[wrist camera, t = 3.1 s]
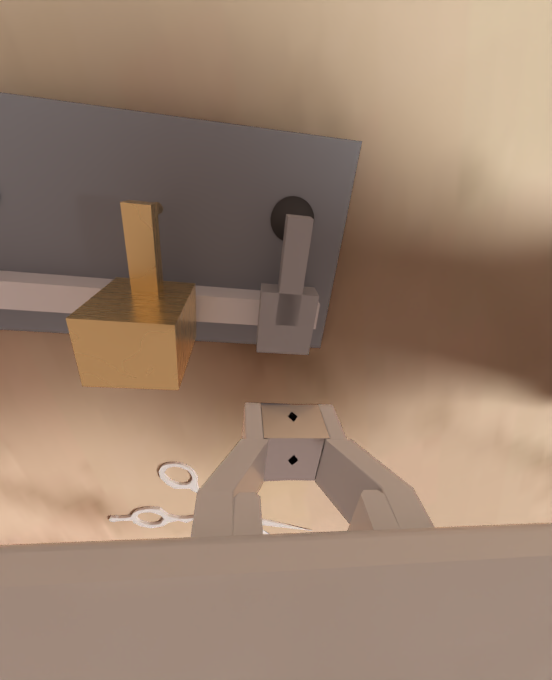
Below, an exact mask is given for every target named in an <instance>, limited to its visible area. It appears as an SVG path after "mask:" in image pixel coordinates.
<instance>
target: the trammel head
mask: <svg viewBox="0 0 552 680" xmlns="http://www.w3.org/2000/svg"><path fill="white" fill-rule="evenodd" d="M120 206H121V214H122V221H123V229H124V237H125V245H126V253H127V261H128V269H129V277H130V278H120V277H116V278H115V279H114V280H112V281H111V282H110V283H109V284H107V285H106V286H105V287H104V288H103V289H101V290H100V291H99V292H98V293H96V294H95V295H94V296H93V297H91V298H90V299H89V300H88V301H86V302H85V303H84V304H83V305H81V306H80V307H79V308H78V309H76V310H75V311H74V312H73V313H72V314H70V315H69V316H68V317H67V318H66V322H67V326H68V330H69V334H70V338H71V343H72V347H73V351H74V355H75V359H76V363H77V367H78V371H79V375H80V379H81V383H82V386H87V387H112V388H137V389H163V390H179V388H180V385H181V382H182V379H183V376H184V372H185V369H186V366H187V363H188V360H189V357H190V354H191V351H192V348H193V345H194V342H195V339H196V290H195V283H184V282H171V281H163V274H162V260H161V247H160V233H159V220H158V215H159V214H161V213H162V212H163V207H162V205H161V204H160V203H159V202H144V201H135V200H126V201H122V202H120Z"/></svg>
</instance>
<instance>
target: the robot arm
mask: <svg viewBox="0 0 552 680" xmlns="http://www.w3.org/2000/svg"><path fill="white" fill-rule="evenodd" d="M280 480H315V482H316V484H317V485H318V486H319V487H320V488H321V490H322V491H323V492H324V493H325V495H326V496H327V497H328V498H329V499H330V501H331V502H332V503H333V504H334V506H335V507H336V508H337V509H338V510H339V512H340V513H341V514H342V515H343V517H344V518H345V519H346V520H347V521H348V523H349V524H350V525H349V528H348V530H347V531H335V532H310V533H285V534H263V528H262V514H261V500H260V496H259V495H258V494H257V493H258V492H259V490H260V488H261V486H262V484H263V481H280ZM0 680H552V523H532V524H507V525H482V526H457V527H434V525H433V523H432V521H431V520H430V518H429V516H428V514H427V512H426V510H425V509H424V507H423V505H422V503H421V501H420V499H419V498H418V496H417V494H416V492H415V490H414V488H413V487H411V486H410V485H409V484H408V483H406V482H405V481H404V480H402V479H401V478H400V477H399V476H397V475H396V474H395V473H394V472H392V471H391V470H390V469H388V468H387V467H386V466H385V465H383V464H382V463H381V462H380V461H378V460H377V459H376V458H374V457H373V456H372V455H371V454H369V453H368V452H367V451H366V450H364V449H363V448H362V447H360V446H359V445H358V444H357V443H355V442H354V441H353V440H352V439H347V438H346V436H345V433H344V431H343V428H342V426H341V423H340V421H339V418H338V416H337V414H336V411H335V409H334V406H333V405H332V404H317V405H316V404H277V403H247V402H245V405H244V417H243V429H242V439H240V441H239V442H238V443H237V444H236V446H235V447H234V448H233V449H232V450H231V452H230V453H229V454H228V455H227V456H226V458H225V459H224V460H223V461H222V462H221V464H220V465H219V466H218V467H217V468H216V470H215V471H214V472H213V473H212V475H211V476H210V477H209V478H208V479H207V481H206V482H205V483H204V484H203V485H202V487H201V488H200V489H199V490H198V491H197V496H196V503H195V510H194V517H193V524H192V531H191V537H186V538H161V539H136V540H111V541H87V542H62V543H37V544H13V545H0Z"/></svg>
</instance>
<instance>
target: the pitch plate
mask: <svg viewBox="0 0 552 680" xmlns="http://www.w3.org/2000/svg"><path fill="white" fill-rule="evenodd" d="M361 144H362V141H355V140H347V139H340V138H332V137H325V136H318V135H310V134H303V133H296V132H288V131H281V130H273V129H266V128H259V127H251V126H244V125H237V124H229V123H222V122H214V121H207V120H200V119H192V118H185V117H178V116H170V115H163V114H155V113H148V112H141V111H133V110H126V109H119V108H111V107H104V106H96V105H89V104H82V103H74V102H67V101H60V100H52V99H45V98H37V97H30V96H23V95H15V94H8V93H1V92H0V330H17V331H35V332H52V333H69V330H68V326H67V322H66V318H67V317H68V316H69V315H70V314H72V313H73V312H74V311H75V310H76V309H78V308H79V307H80V306H81V305H83V304H84V303H85V302H86V301H88V300H89V299H90V298H91V297H93V296H94V295H95V294H96V293H98V292H99V291H100V290H101V289H103V288H104V287H105V286H106V285H107V284H109V283H110V282H111V281H112V280H114V279H115V278H116V277H120V278H130V277H129V269H128V261H127V253H126V245H125V237H124V229H123V221H122V214H121V206H120V202H122V201H126V200H135V201H144V202H159V203H160V204H161V205H162V207H163V212H162V213H161V214H159V215H158V220H159V233H160V247H161V260H162V274H163V281H171V282H184V283H195V290H196V339H195V341H209V342H226V343H244V344H256V350H257V352H262V353H280V354H299V355H309V349H310V347H313V348H320V346H321V341H322V336H323V331H324V327H325V322H326V317H327V312H328V307H329V302H330V297H331V292H332V287H333V282H334V277H335V272H336V267H337V262H338V257H339V252H340V248H341V243H342V238H343V233H344V228H345V223H346V218H347V213H348V208H349V203H350V198H351V193H352V188H353V183H354V178H355V173H356V168H357V164H358V159H359V154H360V149H361Z"/></svg>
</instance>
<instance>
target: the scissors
mask: <svg viewBox="0 0 552 680" xmlns="http://www.w3.org/2000/svg"><path fill="white" fill-rule="evenodd" d="M169 467H180V468H183V469H185V470H188V471H189V473H190V474H191V476H192V479H191V481H190V482H187V483H181V482H177V481H175V480H173V479H171V478H169V477H168V476H167V475H166V474H165V471H166V469H168V468H169ZM159 476H160V478H161V479H162V480H163V481H164V482H165V483H166V484H167V485H169V486H171V487H172V488H174V489H185V488H190V489H191V490H192V491H194V492H196V493H197V491H198V490H199V489H200V488H199V487H198V476H197V474H196V472H195V471H194V469H193V468H192V467H190V466H189V465H187V464H184V463H181V462H168V463H164V464H163V465H161V467H160V469H159ZM144 512H151V513H156V514H158V515H161V516H162V517H163V519H162V521H158V522H147V521H143V520H140V519H139V518H138V516H137V515H138V514H140V513H144ZM193 517H194V515H189V516H178V515H174V514H170V513H167V512H166V511H164V510H163V509H162V508H161V507H156V506H148V507H142V508H138V509H136V510H135V511H134V512H133V513H132V515H124V516H117V515H111V516H110V519H109V521H111V522H116V521H133V523H135V524H137V525H139V526H142V527H148V528H156V527H161V526H164V525H166V524H168V523H169V522H174V521H182V522H186V523H187V522H190V521H192V520H193ZM262 525H266V526H274V527H283V528H292V529H301V530H308V529H304V528H300V527H296V526H292V525H288V524H284V523H280V522H276V521H272V520H267V519H262ZM310 531H312V530H310ZM263 534H269V533H267V532H266V531H264V530H263Z"/></svg>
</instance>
